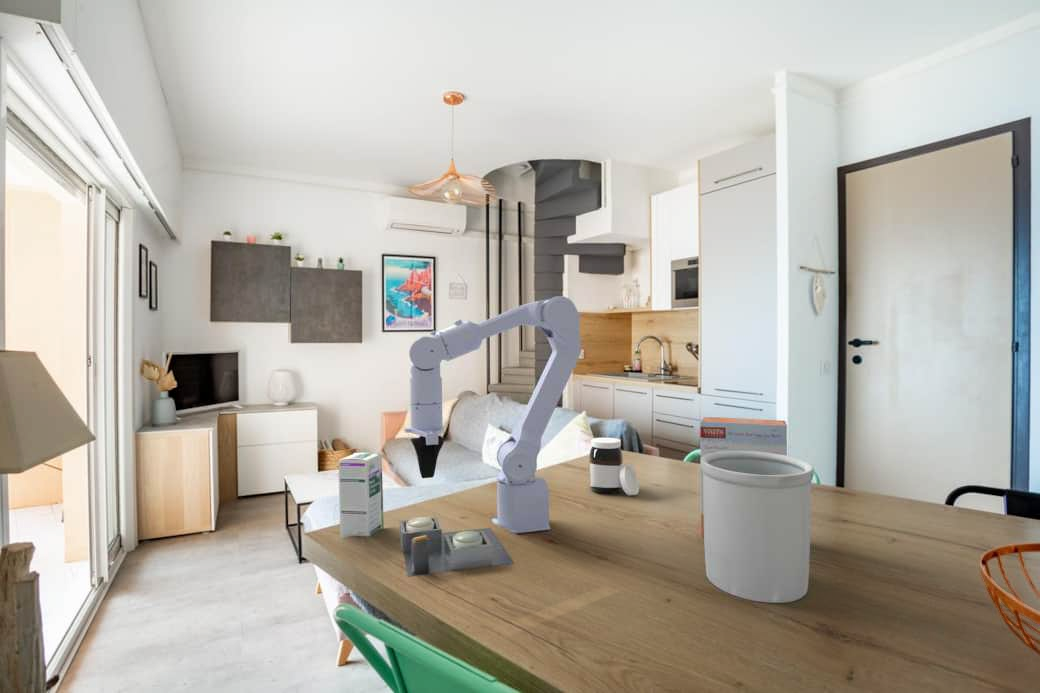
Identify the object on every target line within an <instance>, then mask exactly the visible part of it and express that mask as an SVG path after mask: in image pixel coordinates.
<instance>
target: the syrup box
mask: <svg viewBox="0 0 1040 693" xmlns="http://www.w3.org/2000/svg"><path fill="white" fill-rule="evenodd" d="M382 456H383V455H382V454H381V453H380V452H379V453H377V452H365V451H364V452H354V453H353V454H350V455H348V456H346V457H343V458H340V459H339V460H338V493H339V494H338V495H339V496H338V498H339V499H338V500H339V529H340V531H339V532H340V539H344V538H349V537H353V536H358V537H370V536H372V535H373V534H375V533H376V532H378V531H380V530H384V529H385V526H384V524H385V522H384V495H383V494H384V492H383V491H384V490H383V488H384V487H383V458H382Z"/></svg>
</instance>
